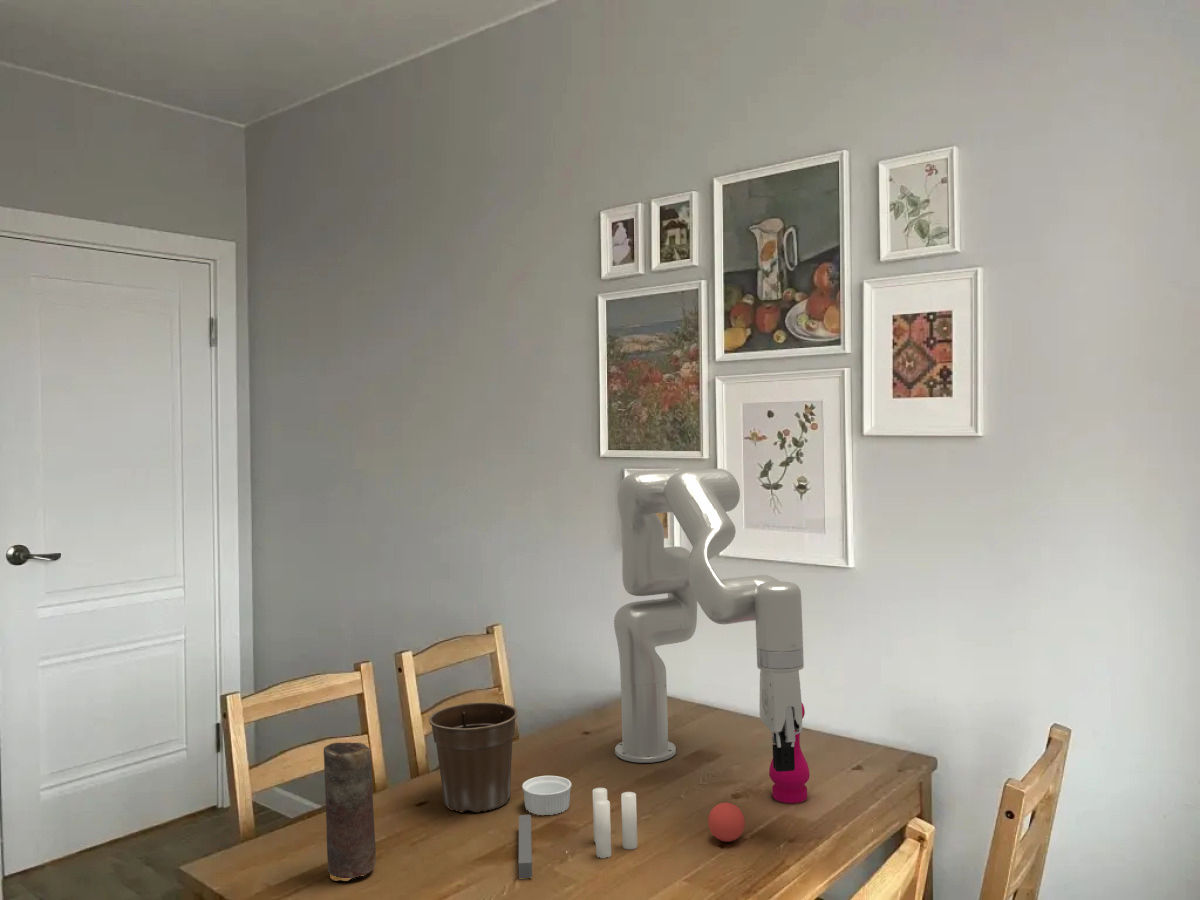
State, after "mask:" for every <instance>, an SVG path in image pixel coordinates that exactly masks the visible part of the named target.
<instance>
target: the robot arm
mask: <svg viewBox="0 0 1200 900" xmlns="http://www.w3.org/2000/svg"><path fill="white" fill-rule="evenodd" d="M616 496H617V497H616V501H617V508H618V514H619V518H620V521H621V526H622V558H621V559H622V562H621V563H622V565H621V566H622V568H621V572H622V573H621V574H622V575H621V576H622V583H623V587H624V590H625V592H626V593H628V594H629V595H631V596H636V597H646V596H647V597H648V596H656V595H664V594H667V597H664V598H657V599H654V598H653V599H646V600H645V599H644V600H638V601H633V602H630V603H626V604H624V605H622V606H621V607H619V609H618V610H617V611H616V613H615V615H614V619H613V627H614V634H615V638H616V642H617V647H618V657H619V671H620V672H619V673H620V696H621V697H620V703H621V705H620V706H621V707H620V708H621V736H622V739H621V740H622V741H621V742H619V743H618V744H616V745H615V748H614V754H615V755H616V757H618V759H619V758H620V759H621V760H623V761H626V762H629V763H630V762H632V763H640V764H641V763H642V764H644V763H645V764H649V763H659V762H663V761H667V760H669V759H671V758H672V757H674V756H675V755H676V753H677V750H676V749H677V747H676V745H675V744H674V743H673V742H671V741H669V731H668V729H669V725H668V723H669V722H668V721H669V720H668V690H667V689H668V688H667V687H668V686H667V668H666V664H665V663H664V662H665V661H663V659H662V658H661V657H660V655H659V654H658V652H657V651H656V649H655V648H656V647H661V646H665V645H673V644H678V643H684V642H686V641H688V640H690V639H691V638H693V636H694V634H695V632H696V628H697V621H698V605H699V606H700V608H701V610H702V612H704V614H705V615H706V616H707V618H708V619H709V620H710V621H712V622H713V623H715V624H717V625H731V624H737V623H744V622H745V623H746V622H750V621H751V622H754V621H755V640H756V641H755V642H756V645H755V646H756V667H757V669H759V670H760V672H759V718H760V720H761V722H763V724H764V725H765V726H766V728H767V729H768V730H769V731H770V732H771V739H772V759H773V767H774V768H775V770H776V771H777V772H780V771H793V770H795V756H794V742H795V731H794V729H795V730H796V731H797V732H799V731H800V730H801V729H802V730H803V719H802V703H803V702H802V693H801V691H802V689H801V682H800V681H801V680H800V672H799V671H801V670H803V669H804V667H805V662H804V641H803V639H804V635H803V609H802V592H801V591H802V590H801V589H800V587H799V586H798V585H797V584H796V583H794V582H790V581H782V580H781V581H780V580H779V579H777V578H776V577H774V576H770V575H768V574H767V575H766V574H759V575H758V574H757V575H751V576H750V575H749V576H740V577H731V578H723V579H720V577H719V576H718V575H717V573H716V571H715V570H714V568H713V566H712V564H711V562H710V561H711V559H713V558H714V557H715V556H717V555H719V554H720V553H722V552H723V551H725V550H726V549H727V548H728V546H730V544H731V543H732V542H733V540H734V539H735V537H736V536H735V535H736V526H735V524H734V522H733V521H732V519H731V518H730V516H729V514H728V512H732V511H733V510H735V508H737V506H738V504H739V502H740V499H741V490H740V486H739V483H738V480H737V479H736V478H735V476H734V475H733V473H731V472H729V471H728V470H726V469H724V468H683V469H662V470H661V469H660V470H659V469H658V470H644V471H638V472H634V473H631V474H628V475H626V476H625V477H624V478H623V479H621V482H620V483H619V486H618V488H617V495H616ZM661 513H662V514H663V513H665V514H666V513H673V515H674V517H675V519H676V521H677V523H679V525H680V528H681V529H682V531H683V533H684V534H685V536H686V538H687V540H688V541H689V543H690V545H691V546H692V549H691V551H689V550H688V549H687V548H685V547H683V546H676V545H675V546H665V528H664V525H663V523H662V521H661V519H660V518H659V516H658V514H661Z"/></svg>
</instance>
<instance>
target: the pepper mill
mask: <svg viewBox="0 0 1200 900" xmlns="http://www.w3.org/2000/svg"><path fill="white" fill-rule="evenodd" d="M805 715H806V713H805V706H804V703H803V702H802V720H803V719H804V717H805ZM794 731H795V742H794V756H795V770H793V771H780V772H777V771H776V770H775V768H774V767H773V758H771V761H770V764H769V772H768V775H769V778H770V780H771V781H772V782H773V783H774V784H773V785H772V787H771V790H772V794H771V796H772V798H773V799H774V800H776V801H778V802H780V803H783V802H784V804H799V803H802V802H803V803H804V801H806V800H807V799H808V787H807V785H806V784H807V783H808V781H809V779H810V776H811V775H810V768H809V764H808V762H807V760H806V758H805V756H804V753H803V750H802V747H801V742H800V737H801V736H800V735H801V733H802V732H803V728H802V729H801V730H800V731H799V732H797V731H796V730H795V729H794Z"/></svg>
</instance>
